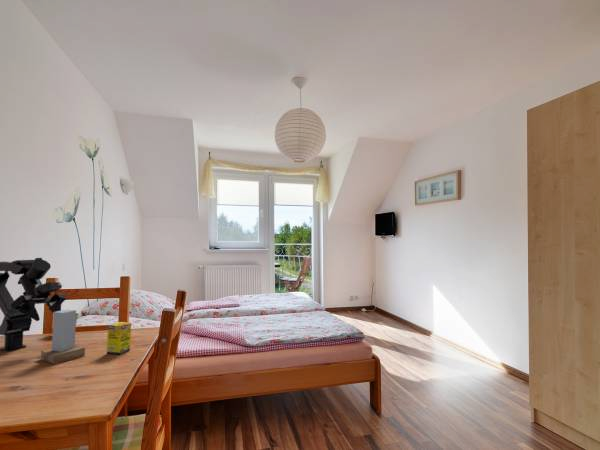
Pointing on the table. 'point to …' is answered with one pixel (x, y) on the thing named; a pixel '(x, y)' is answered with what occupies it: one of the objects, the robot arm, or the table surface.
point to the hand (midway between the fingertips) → (49, 319)
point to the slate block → (63, 330)
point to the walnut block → (62, 354)
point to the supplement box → (119, 338)
